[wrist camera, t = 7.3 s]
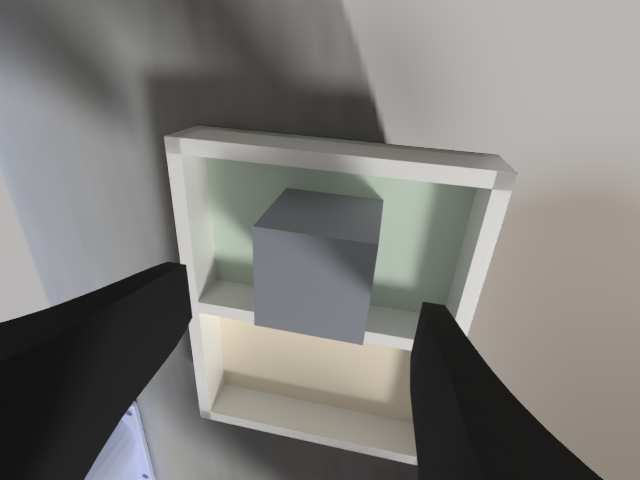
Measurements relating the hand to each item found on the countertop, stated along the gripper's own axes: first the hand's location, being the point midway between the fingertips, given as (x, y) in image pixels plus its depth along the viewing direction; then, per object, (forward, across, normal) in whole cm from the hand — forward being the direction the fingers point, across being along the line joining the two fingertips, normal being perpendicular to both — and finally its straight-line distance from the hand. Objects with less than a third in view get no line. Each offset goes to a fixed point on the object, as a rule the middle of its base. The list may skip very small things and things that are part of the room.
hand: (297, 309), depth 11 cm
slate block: (+5, 0, 0) cm, 5 cm away
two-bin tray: (+6, 0, +4) cm, 7 cm away
